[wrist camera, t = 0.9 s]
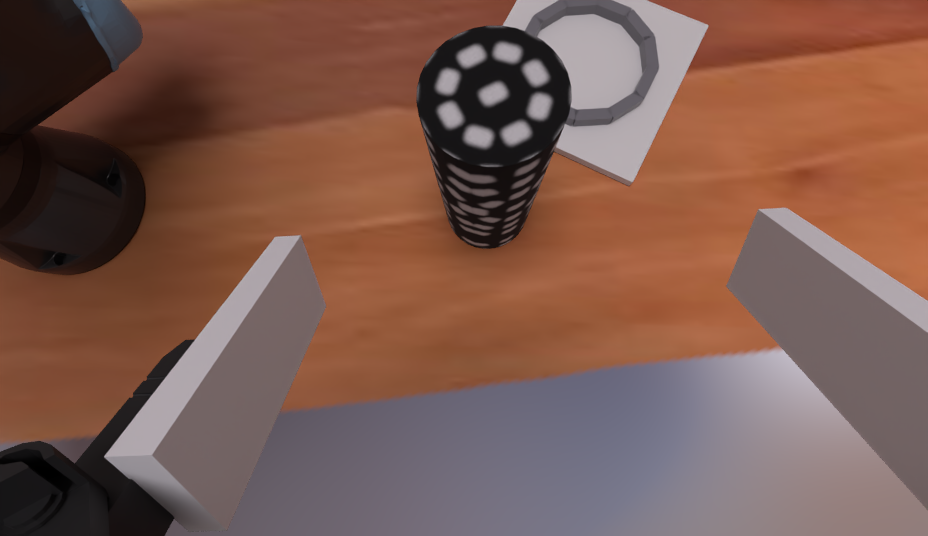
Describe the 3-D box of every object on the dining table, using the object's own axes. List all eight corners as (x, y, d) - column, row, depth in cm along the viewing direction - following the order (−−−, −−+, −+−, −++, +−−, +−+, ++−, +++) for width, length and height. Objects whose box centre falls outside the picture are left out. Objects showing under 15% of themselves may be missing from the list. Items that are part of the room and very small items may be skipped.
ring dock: (459, 107, 42) (458, 95, 40) (539, -34, 45) (542, -53, 43) (628, 186, 40) (637, 177, 38) (703, 32, 43) (715, 16, 40)
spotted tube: (469, 262, 40) (459, 193, 20) (433, 194, 41) (391, 66, 21) (541, 226, 40) (601, 123, 20) (503, 159, 41) (524, 1, 21)
